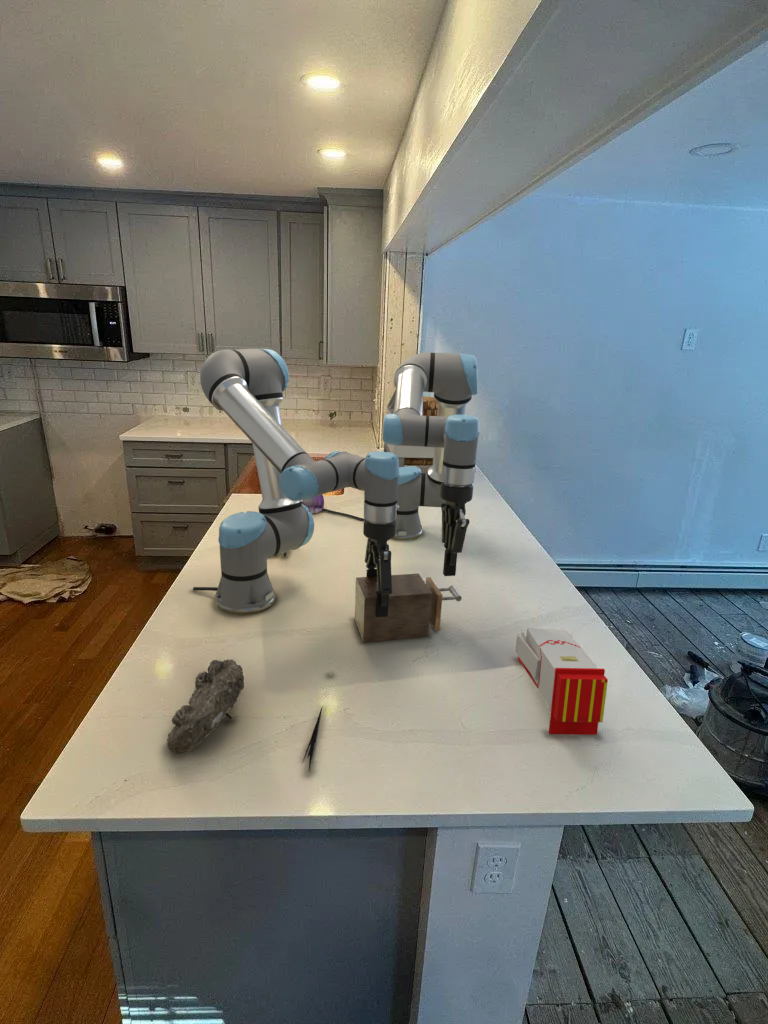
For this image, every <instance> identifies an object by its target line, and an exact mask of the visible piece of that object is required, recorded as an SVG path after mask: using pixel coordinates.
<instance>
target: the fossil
mask: <svg viewBox="0 0 768 1024" xmlns="http://www.w3.org/2000/svg"><path fill="white" fill-rule="evenodd" d="M243 670H244V669H243V667H242V665H240V664H237V662H236V661H235V660H234V659H232V658H231V659H227V658H226V659H224V660H223V661H222V660H217V659H212V660H211V661H210V663H209V665H208V666H207V671H201V672H199V673H198V674H197V675H196V676H195V680H194V684H195V685H194V687H195V689H194V690H193V693H192V694H191V697H190V698H189V700H188V704H184V705H182V706H181V707H180V709H177V710H176V711H175V713H174V715H173V716H172V718H171V723H172V724H173V727H172V730H171V731H170V732H168V734H167V738H166V741H167V742H166V745H167V749H168V750H169V751H173V752H174V753H176V754H178V753H182V752H188V751H189V752H192V751H193V750H195V748H196V747H197V746H199V744H200V743H201V742H203V741H204V740H205V739H206V738H207V737H208V736H209V735H210V734H211V733H212V732H214V730H215V729H217V727H218V726H219V724H220V722H221V721H222V720H223V719H224V718H225V716H226V717H227V719H229V720H233V717H232V715H230V714H229V710H230V709H231V708H234V706H235V704H236V703H237V702H238V699H239V697H240V695H241V693H242V691H243V690H245V689H244V688H245V675H244V671H243Z"/></svg>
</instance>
